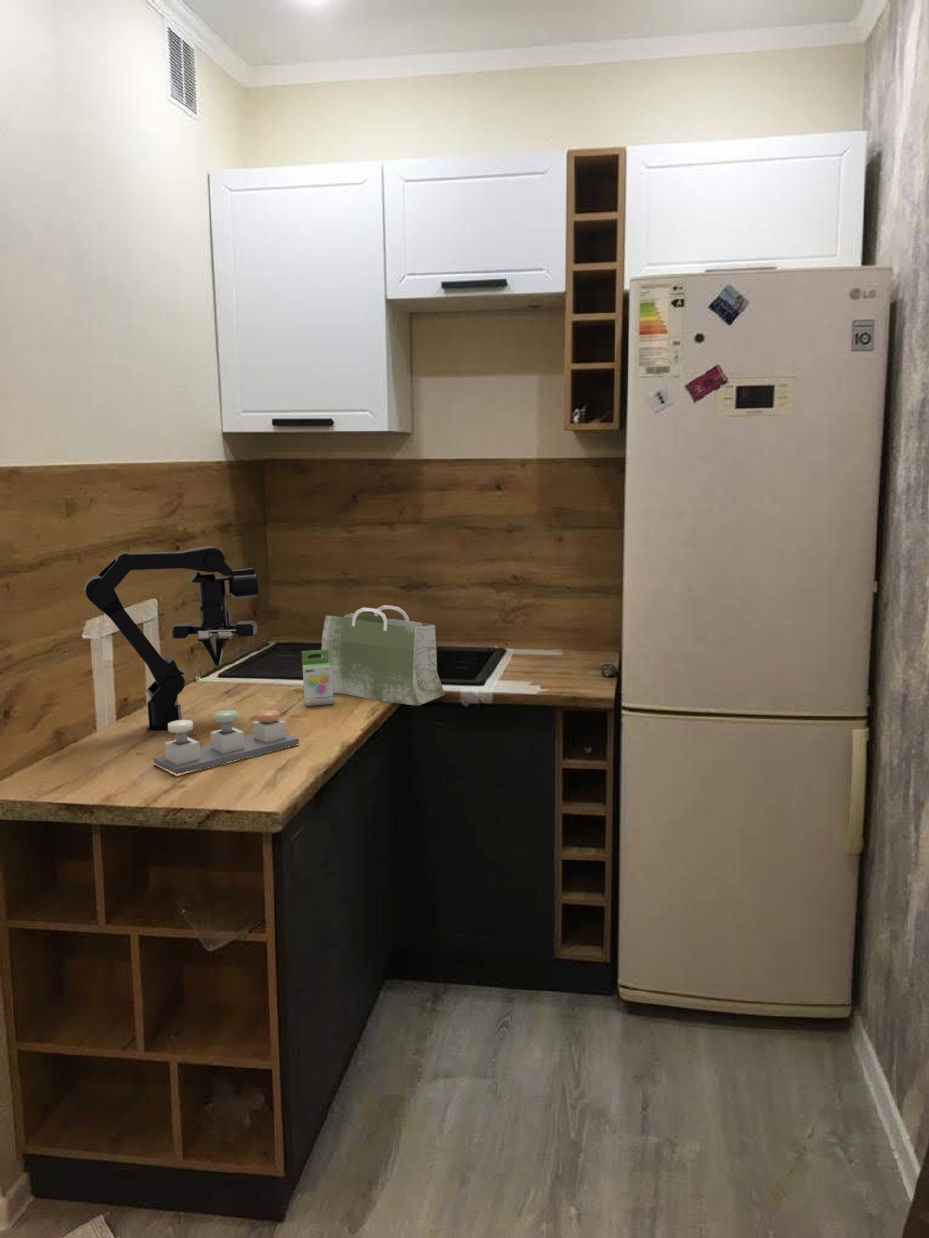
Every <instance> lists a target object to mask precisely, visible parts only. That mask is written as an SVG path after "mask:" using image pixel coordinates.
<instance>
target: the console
mask: <svg viewBox="0 0 929 1238" xmlns="http://www.w3.org/2000/svg"><path fill="white" fill-rule="evenodd" d="M252 730H253V733H252V734H249V735H245V732H244V731H243V730H240V729H238V728H237V727H233V726H232V733H230V734H225V735H223V734H222V732H221V729H218V730H213V731H210V744H206V745H203V746H200V741H197V740H196V739H193V738H191V737H189V736H187V742H188V743H187V744H183V745H179V746H178V745H176V739H174V740H170V741H166V742H164V751H165V755H161V756H157V757H154V758H153V764H154V763H156V764H157V765H159V766H161V767H163V768H165V769H168V770H170V771H172V772H174V773H176V774H178V773H183V772H186V771H191V770H195V769H204V768H208V767H212V768H214V767H213V766H216V765H220V764H223V763H227V762H230V761H234V760H238V759H242V758H246V757H250V756H255V757H257V756H256V755H259V756H261V755H260V754H262V755H265V754H264V753H266V754H268V753H267V752H270V751H274V750H277V749H281V748H285V747H288V746H293V745H296V744H300V743H299V741H300V739H299V737H295V736H292V735H291V734H287V731H286V730H287V729H286V721H284V720H281V719H279V720H277V721H274V723H272V724H268V725H266V724H264V722H260V721H258V720H257V721H253V722H252ZM293 747H294V746H293ZM274 752H275V751H274ZM270 753H271V752H270ZM220 766H221V765H220ZM216 767H217V766H216ZM208 769H209V768H208Z"/></svg>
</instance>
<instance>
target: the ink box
mask: <svg viewBox="0 0 929 1238" xmlns="http://www.w3.org/2000/svg"><path fill="white" fill-rule="evenodd" d="M311 655H320V656H321V655H323V657H322V658H321V657H312V658H311V657H310V658H309V656H311ZM301 663H302V678H303V682H302V683H303V698H304V699H303V701H304V704H305V706H306V707H314V706H323V705H334V704H335V701H334V693H333V683H332V667H331V665H330V663H329V649H326V650H321V649H317V650H315V649H313V650H302V651H301Z"/></svg>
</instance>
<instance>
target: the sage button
mask: <svg viewBox="0 0 929 1238" xmlns="http://www.w3.org/2000/svg"><path fill="white" fill-rule="evenodd" d="M238 716H239V714H238V711H237V710H234V709H233V710H231V709H230V710H229V709H228V710H227V709H225V710H219V711H216V712H214V713H213V721H214V722H216V723H220V730H221V732H222V734H223V735H225V734H230V733H232V727H233V722H235V721H238V720H239V717H238Z"/></svg>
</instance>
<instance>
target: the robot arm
mask: <svg viewBox="0 0 929 1238" xmlns="http://www.w3.org/2000/svg"><path fill="white" fill-rule="evenodd" d="M225 560H226V559H225V555H224V553H223V551H221V550H220V549H219V548H217V547H214V546H211V545H204V546H199V547H193V548H190V549H187V550H181V551H153V552H126V551H123V552H120V553H118V554H117V556H116V557H115V558H114V559H113V560H112V561H111V562H110V563H109V564H107V566H106V567H104V569H102V570H101V571H100V572H99V573H98V574H97V575H93V576H91V577H88V578H87V579H88V580H87V579H86V580H87V582H86V581H85V582H86V584H85V583H84V584H85V588H84V587H83V592H84V591H85V592H84V594H85V596H86V597H87V598H86V599H88V600H89V601H90V602H91V603H92V604H93V605H94V606H95V607H96V608H98V610H100V611H101V612H102V613H103V614H105V616H107V617H108V618H109V619H110V620H111V621H112V622H113V623H114V624H115V627H116V628H117V629H118V630H119V631H120V632H121V634H122V635H123V636H124V638H126V640H127V642H128V643H129V644H130V645H131V646H132V647H133V649H134V650H135V652H136V653H137V654H138V655H139V657H141V659H142V660H143V662H144V663H145V664H146V666H147V668H148V670H149V672H150V675H151V676H152V678H153V680H154V681H153V682H152V683H151V684H150V686H149V687H148V688H147V689H146V692H147V693H148V696H149V698H150V699H149V700H148V701H147V703H146V705H147V715H148V717H147V718H148V726H147V727H146V730H147V729H159V730H168V723H170V722H173V721H177V720H183V718H182V717H183V716H182V705H181V704H179V698H178V696H179V694H180V693H182V691H183V690H184V688H185V684H186V680H185V679H184V676H183V675H185V673H184V671H183V670H182V669H181V667H179V666H177V663H176V662H175V660H174V658H172V656H171V655H169V656H168V657H167V658H165V657H163V656H162V655H161V654H160V653H159V652H158V651H157V649H156V648H155V647H154V645H153V644H152V643H151V642H150V640H149V639H148V638H147V637H146V635H145V634H144V633H143V631H142V630H141V628H140V627H139V626H138V625H137V623H135V621H134V620H133V618H132V617H131V616H130V615H129V613H128V612H127V611H126V610H125V608H124V606H123V604H122V602H121V601H120V598H119V595H118V594H117V592H116V590H115V589H116V588H117V587H118V586H119V584H121V582H122V581H123V579H125V578H126V576H127V575H128V574H129V573H130V571H141V570H144V571H145V570H172V569H184V570H186V569H187V570H191V571H195V572H194V574H193V576H192V577H190V579H189V581H190V582H191V583H193V584H196V583H197V584H198V588H199V602H200V606H199V607H200V620H201V625H195V623H194V622H178V623H177V624H176V625H174V626H173V628H172V631H171V636H172V639H175V640H176V639H187V637H188V636H189V635H198V638H197V641H198V642H201V643H202V645H203V646H204V647H205V648H206V651H208V654H209V656H210V657H211V659H212V661H213V664H214V666H217V667H219V666H220V664H221V663H222V658H223V654H224V650H225V647H226V645H227V642H228V641H230V640H231V639H232V638H233V637H234V633H235V634H236V635H237V636H239V637H253V636H255V635H256V634H257V633H258V624H257V622H256V620H240V621H238V622H237V623H236V624H232V611H230V609H228V605H227V599H226V593H227V595H228V596H229V595H231V599H243V598H253V597H254V598H255V597H258V596H259V582H258V580H257V579H258V578H257V576H256V570H255V568H254V567H249V568H245V569H232V567H231V566H230V565H228V564H227V563H226V561H225ZM200 572H205V574H201V573H200ZM214 573H219V574H220V575H223V576H219V577H218V576H217V577H216V576H215V574H214ZM216 634H218V637H216Z"/></svg>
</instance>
